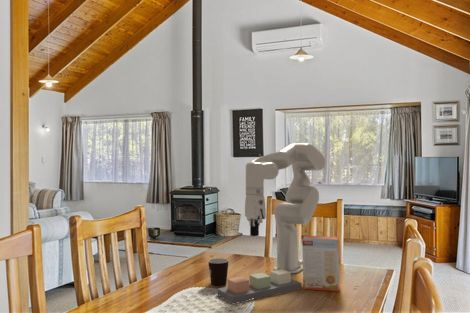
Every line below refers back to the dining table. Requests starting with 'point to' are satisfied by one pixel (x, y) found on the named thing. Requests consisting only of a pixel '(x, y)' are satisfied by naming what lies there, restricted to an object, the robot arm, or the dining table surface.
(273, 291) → the button panel
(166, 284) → the dining table surface
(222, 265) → the coffee mug
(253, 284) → the sage button
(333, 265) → the cracker box
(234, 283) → the terracotta button
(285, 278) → the cream button
